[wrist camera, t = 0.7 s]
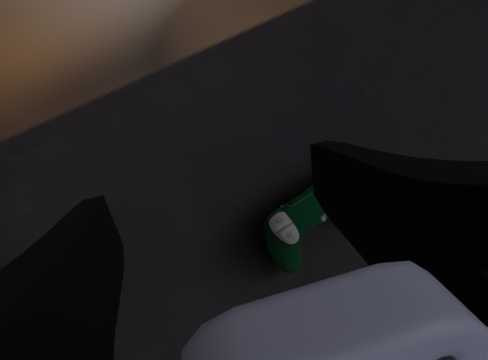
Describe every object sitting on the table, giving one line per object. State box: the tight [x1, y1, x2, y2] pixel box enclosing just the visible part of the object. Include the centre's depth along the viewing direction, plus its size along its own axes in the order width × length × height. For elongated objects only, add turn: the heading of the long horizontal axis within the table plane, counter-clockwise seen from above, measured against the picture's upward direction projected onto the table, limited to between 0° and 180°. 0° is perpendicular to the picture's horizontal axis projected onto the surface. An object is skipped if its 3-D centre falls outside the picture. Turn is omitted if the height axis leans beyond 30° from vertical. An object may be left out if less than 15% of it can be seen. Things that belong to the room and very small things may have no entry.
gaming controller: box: [263, 186, 329, 273], centre depth 23 cm, size 9×4×6 cm
